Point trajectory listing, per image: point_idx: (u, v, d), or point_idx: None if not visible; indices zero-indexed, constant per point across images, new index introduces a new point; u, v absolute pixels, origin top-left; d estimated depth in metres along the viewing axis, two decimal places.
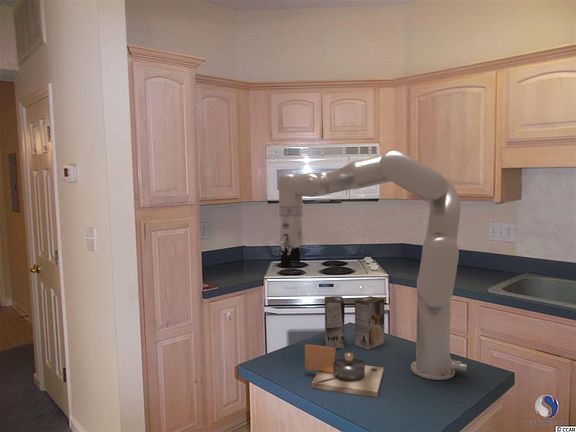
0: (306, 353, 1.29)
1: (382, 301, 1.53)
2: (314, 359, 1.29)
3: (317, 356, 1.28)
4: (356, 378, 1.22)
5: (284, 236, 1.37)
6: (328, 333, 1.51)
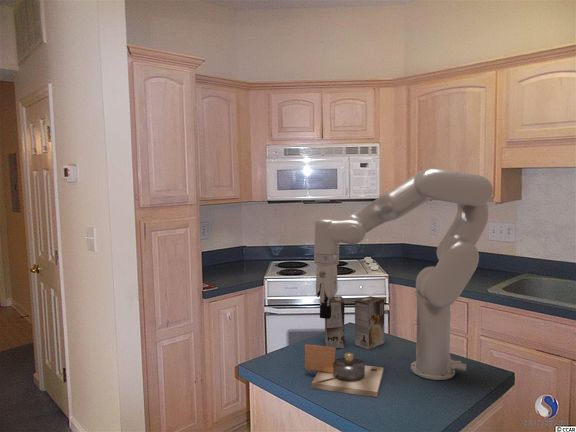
0: (306, 353, 1.29)
1: (382, 301, 1.53)
2: (314, 359, 1.29)
3: (317, 356, 1.28)
4: (356, 378, 1.22)
5: (321, 290, 1.30)
6: (328, 333, 1.51)
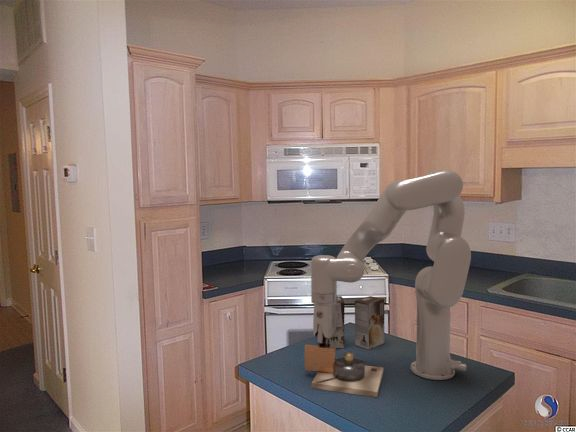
0: (306, 353, 1.29)
1: (382, 301, 1.53)
2: (314, 360, 1.29)
3: (317, 356, 1.28)
4: (356, 378, 1.22)
5: (319, 330, 1.27)
6: None
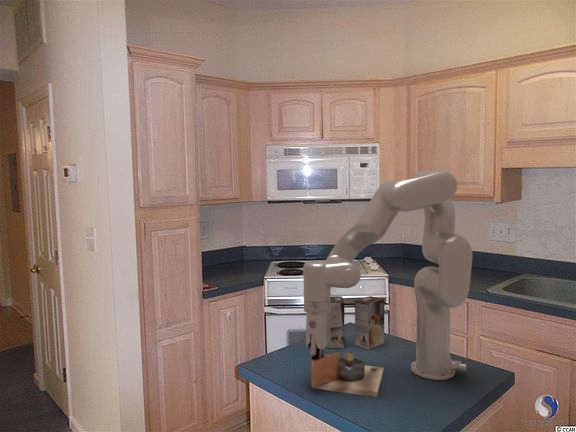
0: (315, 368, 1.19)
1: (382, 301, 1.53)
2: (322, 372, 1.20)
3: (325, 367, 1.21)
4: (364, 374, 1.25)
5: (312, 341, 1.19)
6: None
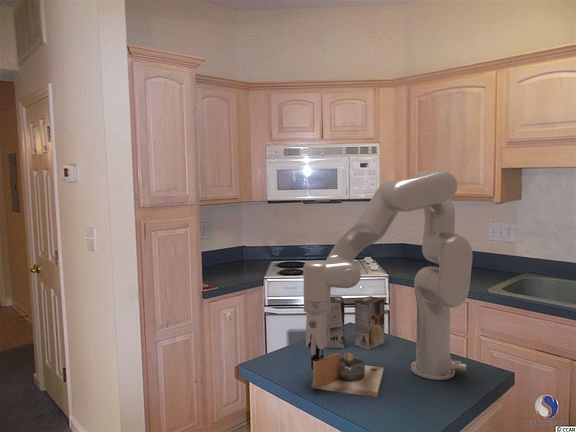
0: (317, 369, 1.18)
1: (382, 301, 1.53)
2: (323, 373, 1.20)
3: (326, 368, 1.20)
4: (364, 373, 1.25)
5: (312, 341, 1.19)
6: None
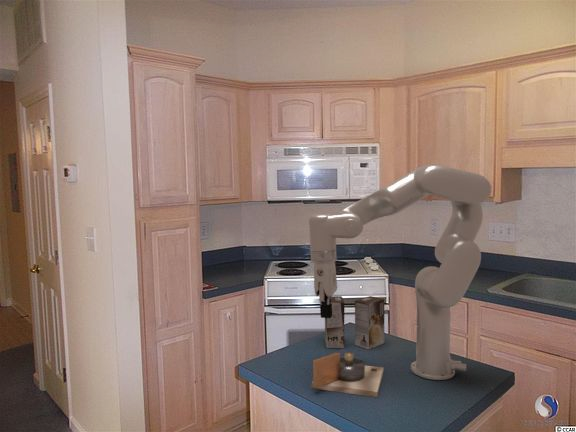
0: (317, 369, 1.18)
1: (382, 301, 1.53)
2: (323, 373, 1.20)
3: (326, 368, 1.20)
4: (364, 373, 1.25)
5: (320, 289, 1.25)
6: (328, 333, 1.51)
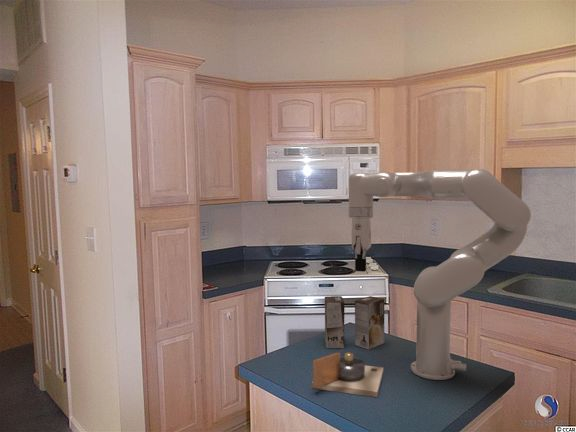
0: (317, 369, 1.18)
1: (382, 301, 1.53)
2: (323, 373, 1.20)
3: (326, 368, 1.20)
4: (364, 373, 1.25)
5: (357, 242, 1.33)
6: (328, 333, 1.51)
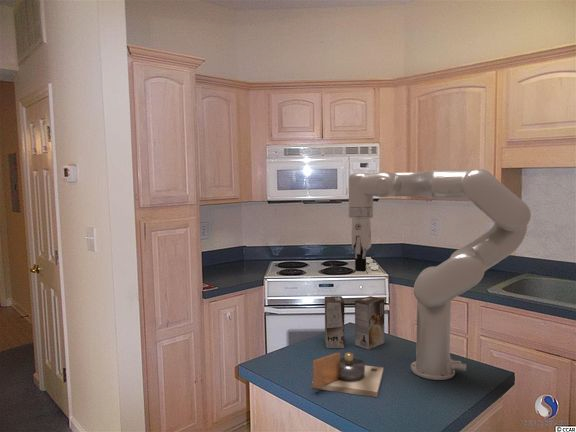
0: (317, 369, 1.18)
1: (382, 301, 1.53)
2: (323, 373, 1.20)
3: (326, 368, 1.20)
4: (364, 373, 1.25)
5: (357, 242, 1.33)
6: (328, 333, 1.51)
